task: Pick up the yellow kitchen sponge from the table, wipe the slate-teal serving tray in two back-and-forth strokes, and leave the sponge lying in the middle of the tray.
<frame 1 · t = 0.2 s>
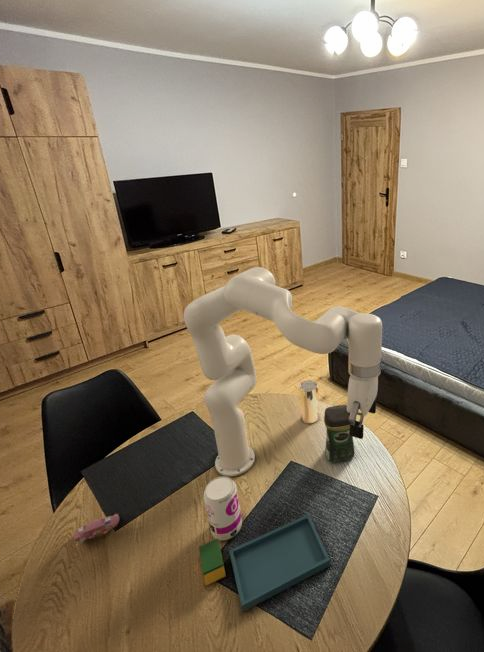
hand: (363, 423, 92), 31 cm above the table, tool pointing down, fingers open, 9 cm apart
silver metal cylinder: (310, 418, 140), on the table
supplement can: (227, 527, 100), on the table
tray: (279, 560, 92), on the table
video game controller: (99, 533, 99), on the table
sponge: (213, 567, 90), on the table
coffee jar: (339, 454, 123), on the table
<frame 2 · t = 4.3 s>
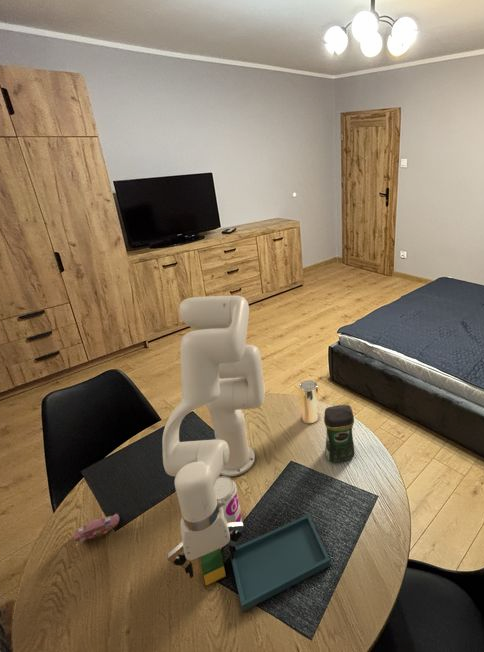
hand: (211, 562, 89), 2 cm above the table, tool pointing down, fingers open, 9 cm apart
nothing on the table moved.
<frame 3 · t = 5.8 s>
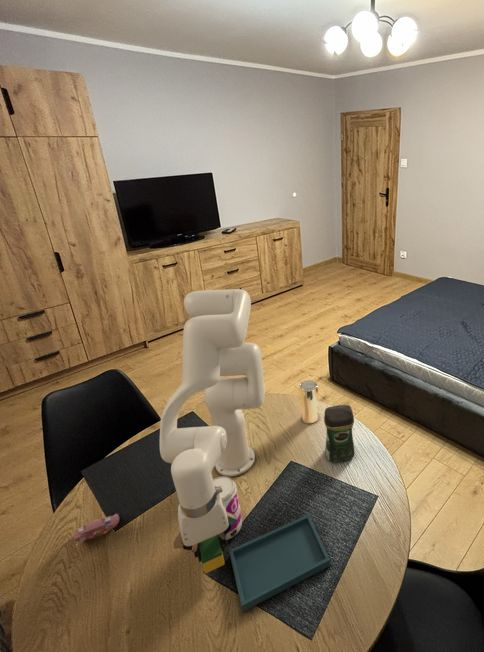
hand: (211, 550, 89), 5 cm above the table, tool pointing down, fingers closed on sponge, 4 cm apart
sponge: (212, 555, 90), point 3 cm above the table, touching gripper
everything else where it was.
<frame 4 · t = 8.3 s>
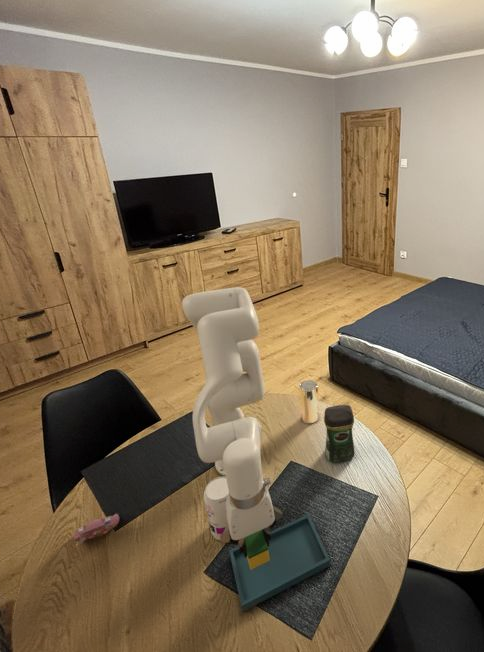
hand: (255, 546, 88), 7 cm above the table, tool pointing down, fingers closed on sponge, 4 cm apart
sponge: (256, 552, 89), point 5 cm above the table, touching gripper
everything else where it was.
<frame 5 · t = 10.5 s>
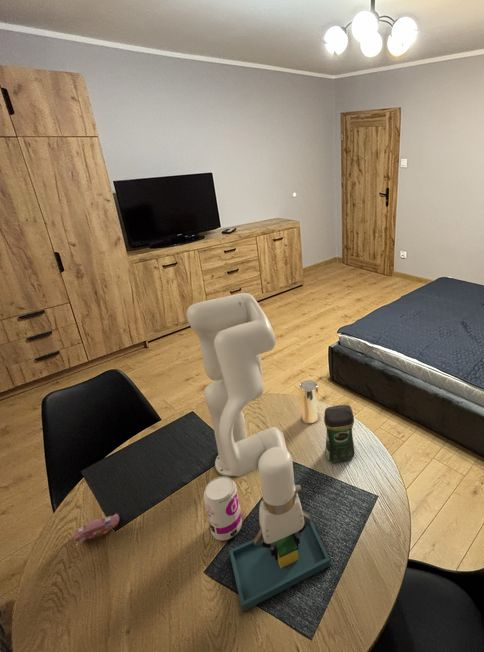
hand: (285, 549, 92), 2 cm above the table, tool pointing down, fingers closed on sponge, 4 cm apart
sponge: (285, 551, 93), point 1 cm above the table, touching gripper
everything else where it was.
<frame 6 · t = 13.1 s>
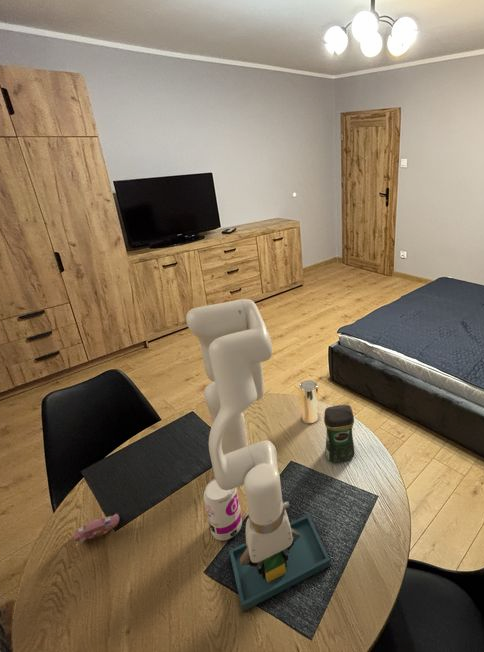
hand: (273, 566, 89), 1 cm above the table, tool pointing down, fingers closed on sponge, 4 cm apart
sponge: (272, 564, 90), point 1 cm above the table, touching gripper
everything else where it was.
when the fingers open (1 cm above the table, at t = 15.2 s): sponge stays where it is, resting on tray.
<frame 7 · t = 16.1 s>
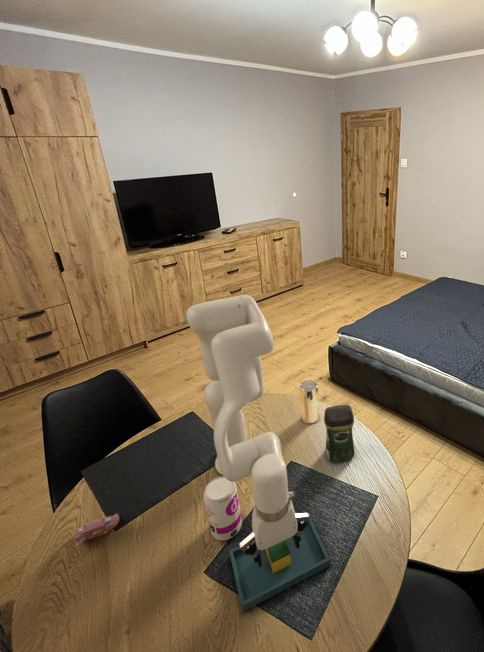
hand: (277, 552, 91), 3 cm above the table, tool pointing down, fingers open, 9 cm apart
sponge: (277, 555, 92), point 1 cm above the table, touching tray
everything else where it was.
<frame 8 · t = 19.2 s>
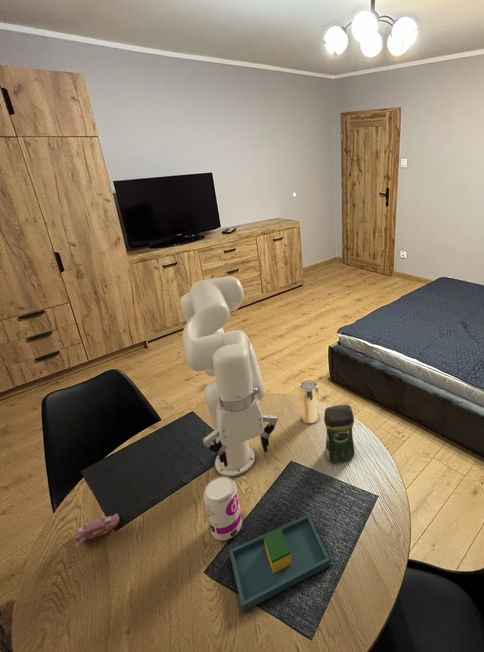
hand: (245, 455, 89), 26 cm above the table, tool pointing down, fingers open, 9 cm apart
nothing on the table moved.
at the end: sponge inside the target area in the tray (0.9 cm from its centre), point 0.8 cm above the tray's base; sponge moved 15.8 cm from its start; sponge tilted 0° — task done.
